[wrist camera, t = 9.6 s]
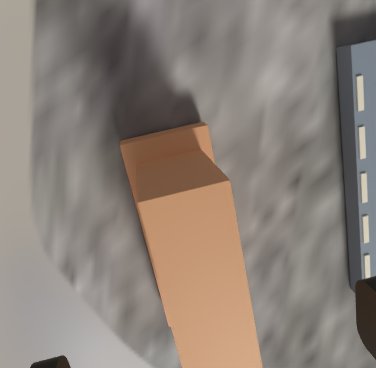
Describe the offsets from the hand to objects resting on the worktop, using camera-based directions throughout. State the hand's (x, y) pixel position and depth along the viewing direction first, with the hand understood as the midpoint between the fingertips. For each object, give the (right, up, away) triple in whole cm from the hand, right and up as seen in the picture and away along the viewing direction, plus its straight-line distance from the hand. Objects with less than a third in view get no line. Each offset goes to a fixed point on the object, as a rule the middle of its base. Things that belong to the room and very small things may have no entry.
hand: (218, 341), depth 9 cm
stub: (-1, +2, +9) cm, 9 cm away
